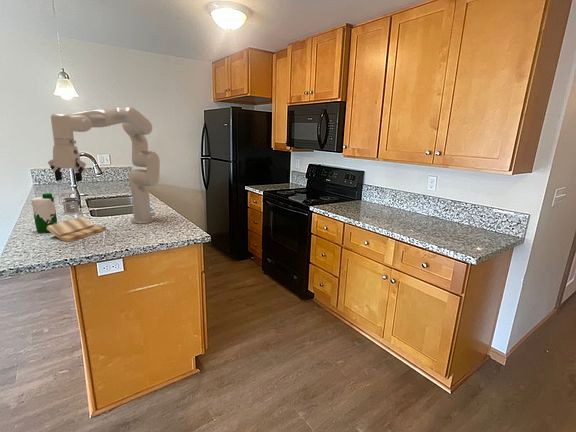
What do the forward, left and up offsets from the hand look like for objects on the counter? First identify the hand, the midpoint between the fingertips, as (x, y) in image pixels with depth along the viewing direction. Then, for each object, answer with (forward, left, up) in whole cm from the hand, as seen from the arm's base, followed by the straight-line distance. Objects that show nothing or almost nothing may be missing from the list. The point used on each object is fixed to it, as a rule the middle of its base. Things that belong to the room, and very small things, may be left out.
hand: (69, 180), depth 147 cm
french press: (-44, -53, -30) cm, 75 cm away
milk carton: (-9, -29, -30) cm, 43 cm away
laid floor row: (-10, -6, -30) cm, 32 cm away
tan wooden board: (-10, -14, -27) cm, 32 cm away
